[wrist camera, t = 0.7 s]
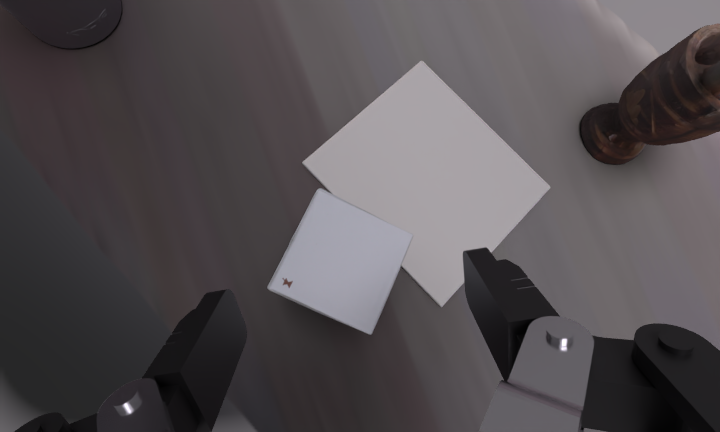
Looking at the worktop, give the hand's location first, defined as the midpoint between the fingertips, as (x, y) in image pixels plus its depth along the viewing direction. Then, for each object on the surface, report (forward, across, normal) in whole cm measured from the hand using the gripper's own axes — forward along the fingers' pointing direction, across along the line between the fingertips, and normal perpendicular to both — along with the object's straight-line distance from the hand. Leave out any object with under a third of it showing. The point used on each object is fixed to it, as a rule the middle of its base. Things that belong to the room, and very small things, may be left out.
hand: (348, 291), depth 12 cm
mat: (+26, -8, +5) cm, 27 cm away
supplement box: (+20, +4, +11) cm, 23 cm away
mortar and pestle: (+30, -28, +7) cm, 42 cm away
